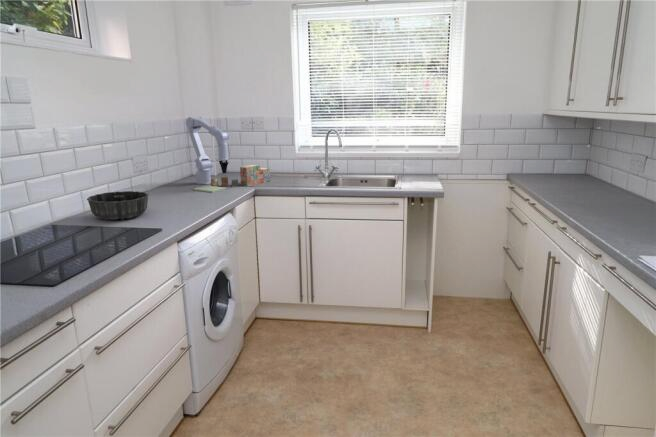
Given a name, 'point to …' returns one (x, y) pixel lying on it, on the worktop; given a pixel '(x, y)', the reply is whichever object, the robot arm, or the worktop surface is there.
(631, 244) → the worktop surface
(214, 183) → the oak cylinder
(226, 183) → the walnut block
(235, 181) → the charcoal cube
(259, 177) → the stack of blocks
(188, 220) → the worktop surface
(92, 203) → the bundt pan
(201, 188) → the sage board
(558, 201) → the worktop surface
